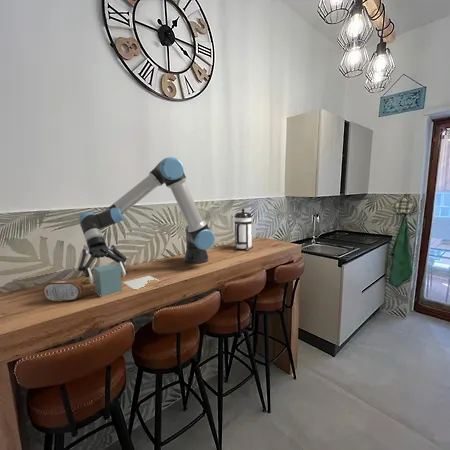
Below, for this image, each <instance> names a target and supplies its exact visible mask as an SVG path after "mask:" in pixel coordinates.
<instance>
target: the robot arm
mask: <svg viewBox="0 0 450 450" xmlns="http://www.w3.org/2000/svg"><path fill="white" fill-rule="evenodd" d="M184 169H185V167H184V165H183V162H182V161H181V160H180V159H179V158H177V157H173V156H168V157H165V158H164V159H162V160H161V161H159V163H157V165H155V167H154V168H152V170H151V171H149V172H148V175H147V176H146V177H145V178H143V179H142V180H141V181H139V183H137V184H136V185H135V186H134V187H132V188H131V189H130V190H128V191H127V192H126V193H125V194H124V195H122V196H121V197H120V198H118V199H117V200H116V201H115V202H113V204H111V205H109V207H108V208H106V209H105V210H103V211H102V212H99V213H96V214H95V213H94V212H92V211H89V212H87V211H86V212H82V213H81V214H80V215H79V218H78V219H79V220H78V221H79V226H80V228H81V230H82V233H83V235H84V239H85V242H86V245H87V247H88V250H86V249H82V252H81V259H80V263H79V266H78V272H83V273H84V276H85V278H86V277H89V280H90V283H89V284H90V285H93V284H94V283H93V282H94V280H93V277H92V274H93V273H92V272H91V267H90V266H91V264H92V263H93V261H94V259H100V258H108V259H110V260H113V261H114V262H116V263H117V264H118V267H120V269H121V273H122V275H123V277H126V275H127V274H126V272H125V270H126V265H125V263H126V261H127V259H128V257H126V256H125V255H124V254H123V253H121V251H119V250H118V249H117V248H116V246H115V245H114V244H111V245H110V246H107V243H106V239H105V238H104V235H103V233H102V230H101V229H104V228H107V227H109V226H113V225H116V224H119V223H120V222H122V221H124V219H125V217H124V216H123V215H124V214H125V213H126V212H128V210H130V209H132V208H133V207H134V206H135V205H136V204H138V203H139V202H140V201H142V200H143V198H145V197H146V196H147V195H149V194H150V193H151V192H152V191H153V190H155V189H156V188H157V187H161V186H163V185H164V184H165V186H166V188H168V189H170V191H171V192H172V194H173V197H174V199H175V201H176V203H177V205H178V207H179V210H180V211H181V213H182V216H183V217H184V220H185V221H186V224H187V225H186V227H185V236H186V237H185V238H186V240H185V243H186V251H185V254H184V257H183V261H184V263H187V264H193V265H194V264H202V263H203V264H204V263H207V262H208V261H209V255H208V250H209V249H210V248H212V246H213V245H215V242H216V236H215V234H214V232H213V231H212V230H211V229H210V227H209V225H208V223H207V221H204V220H203V218H202V217H201V214H200V212H199V210H198V207H197V205H196V204H195V201H194V198H193V196H192V194H191V192H190V190H189V187H188V185H187V182H186V180H187V176H186V175H185V172H184ZM88 255H90V257H89V259H88V260H87V262H86V263H85V259H86V258H87V256H88ZM84 264H85V265H84ZM125 274H126V275H125Z"/></svg>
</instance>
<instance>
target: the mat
mask: <svg viewBox="0 0 450 450" xmlns="http://www.w3.org/2000/svg"><path fill="white" fill-rule="evenodd" d="M154 279H155V280H158V281H159V279H158V278H156V277H153V276H151V275H147V276H142V277H138V278H135V279H131V280H130V279H129V280H126V281H122V284H125V285H126V286H128V287H129V288H131V289H133V290H134V289H137V290H140V289H139V288H141V287H144V286H145V284H147V283H148V282H147V281H148V280H149V281H150V280H154ZM144 288H145V287H144ZM141 289H142V288H141Z"/></svg>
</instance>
